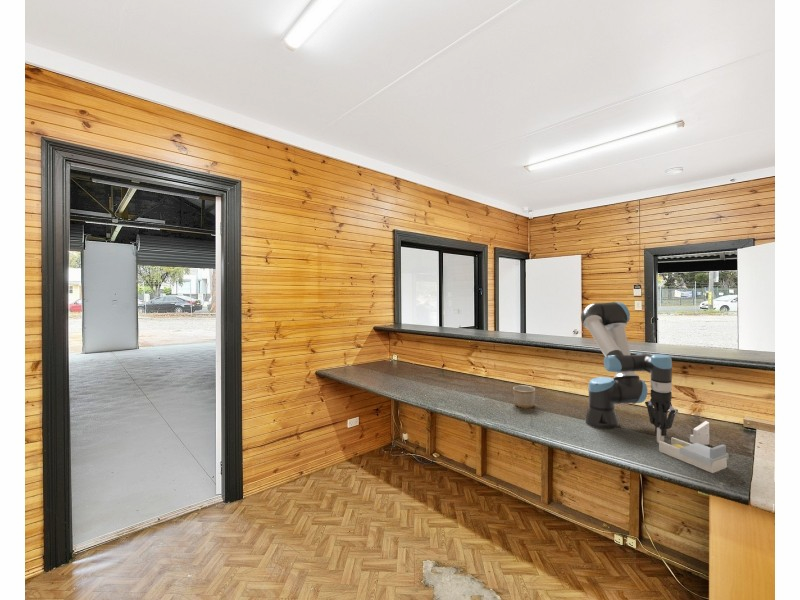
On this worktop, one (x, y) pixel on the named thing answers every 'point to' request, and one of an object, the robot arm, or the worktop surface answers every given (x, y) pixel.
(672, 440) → the long white channel rail
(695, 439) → the white angled block
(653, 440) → the worktop surface
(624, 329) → the robot arm
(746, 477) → the worktop surface
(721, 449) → the cover
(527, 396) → the planter
